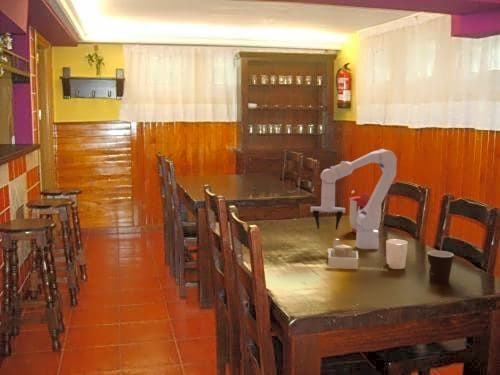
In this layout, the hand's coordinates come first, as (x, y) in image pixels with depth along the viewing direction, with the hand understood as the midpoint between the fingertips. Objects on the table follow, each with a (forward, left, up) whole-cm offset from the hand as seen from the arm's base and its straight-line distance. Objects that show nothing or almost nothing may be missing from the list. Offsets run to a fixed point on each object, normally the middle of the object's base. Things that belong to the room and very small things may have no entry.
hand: (327, 228), depth 228 cm
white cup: (-27, +20, -10) cm, 35 cm away
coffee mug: (-41, +34, -10) cm, 54 cm away
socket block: (-7, +20, -9) cm, 23 cm away
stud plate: (-4, +5, -9) cm, 11 cm away
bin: (-7, +20, -9) cm, 23 cm away
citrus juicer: (-17, -36, -10) cm, 41 cm away
